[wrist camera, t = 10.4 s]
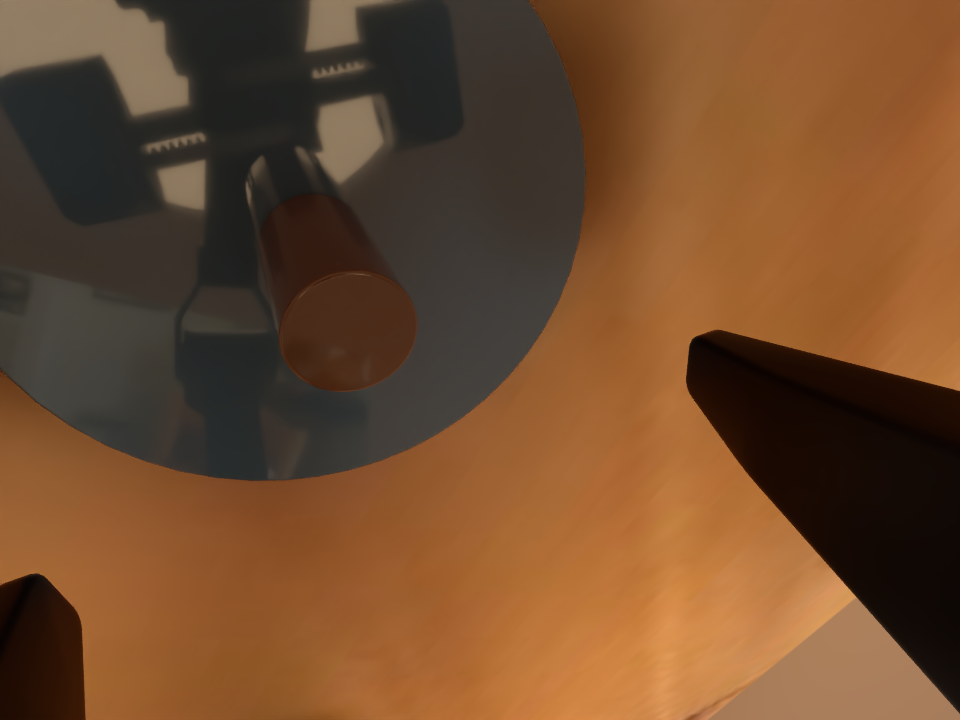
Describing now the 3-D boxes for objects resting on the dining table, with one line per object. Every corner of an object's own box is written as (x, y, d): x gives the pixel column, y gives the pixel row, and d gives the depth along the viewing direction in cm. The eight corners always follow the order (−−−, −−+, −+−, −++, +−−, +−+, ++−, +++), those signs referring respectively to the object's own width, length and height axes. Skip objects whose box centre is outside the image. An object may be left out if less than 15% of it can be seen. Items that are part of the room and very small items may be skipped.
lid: (575, 368, 22) (669, 471, 17) (135, 523, 18) (116, 699, 14) (554, -187, 13) (735, -258, 9) (-302, -88, 10) (-716, -123, 5)
